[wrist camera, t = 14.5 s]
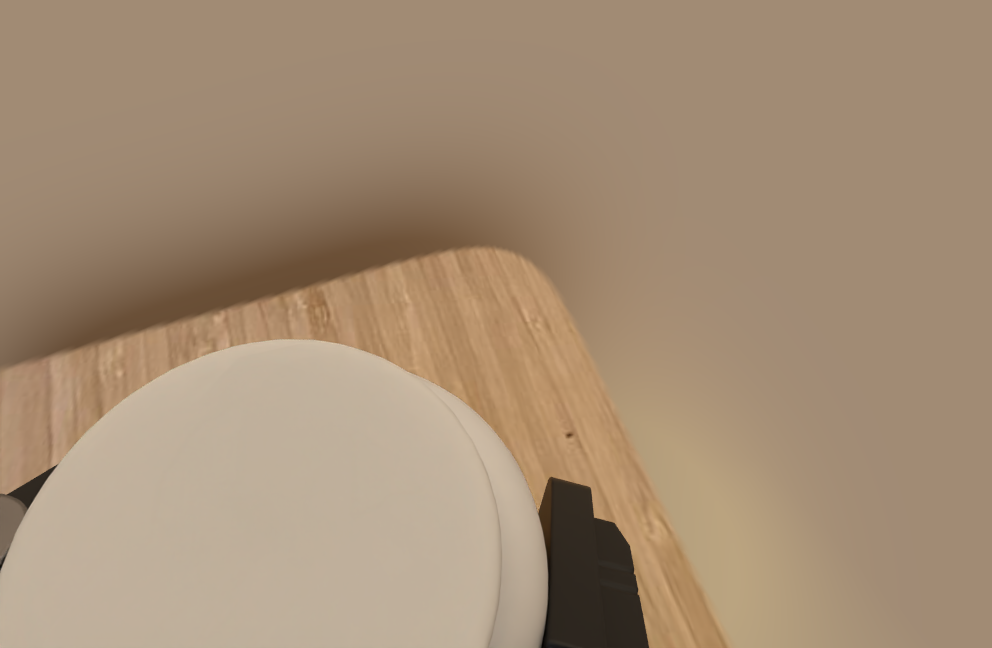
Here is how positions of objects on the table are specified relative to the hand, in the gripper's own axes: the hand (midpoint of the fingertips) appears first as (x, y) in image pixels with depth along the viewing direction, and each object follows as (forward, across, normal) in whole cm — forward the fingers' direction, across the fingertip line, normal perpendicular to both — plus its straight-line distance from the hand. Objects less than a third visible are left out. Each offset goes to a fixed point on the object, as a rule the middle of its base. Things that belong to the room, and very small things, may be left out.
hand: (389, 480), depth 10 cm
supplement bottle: (+2, 0, +5) cm, 5 cm away
